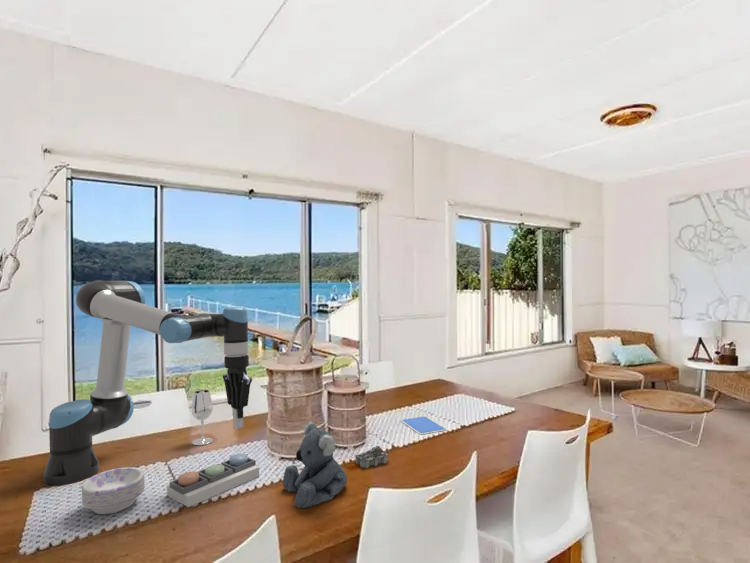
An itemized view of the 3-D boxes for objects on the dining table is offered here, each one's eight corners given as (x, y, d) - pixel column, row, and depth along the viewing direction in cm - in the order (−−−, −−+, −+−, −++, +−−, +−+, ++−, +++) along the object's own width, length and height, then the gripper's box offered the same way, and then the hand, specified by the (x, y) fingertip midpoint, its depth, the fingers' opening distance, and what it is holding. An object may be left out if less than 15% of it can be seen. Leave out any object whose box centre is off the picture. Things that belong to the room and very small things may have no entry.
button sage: (211, 480, 131) (211, 474, 131) (201, 475, 134) (201, 469, 134) (228, 473, 135) (227, 467, 135) (217, 468, 139) (217, 463, 139)
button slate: (236, 467, 138) (236, 461, 138) (226, 463, 141) (225, 457, 141) (251, 461, 142) (251, 456, 142) (240, 457, 146) (240, 452, 146)
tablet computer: (447, 432, 180) (447, 428, 180) (420, 436, 175) (420, 433, 175) (425, 418, 198) (425, 415, 198) (400, 422, 193) (400, 419, 193)
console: (187, 507, 122) (186, 491, 122) (166, 495, 129) (165, 480, 129) (259, 475, 141) (259, 462, 141) (238, 466, 148) (237, 453, 148)
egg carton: (380, 456, 156) (380, 444, 156) (390, 463, 149) (390, 451, 149) (353, 461, 151) (353, 450, 151) (362, 470, 144) (361, 457, 144)
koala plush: (280, 487, 133) (278, 423, 133) (334, 473, 142) (332, 413, 142) (299, 513, 118) (297, 440, 118) (358, 496, 126) (357, 428, 126)
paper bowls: (99, 526, 113) (99, 495, 113) (71, 511, 121) (71, 482, 121) (155, 500, 126) (155, 473, 126) (127, 488, 134) (126, 462, 134)
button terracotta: (184, 488, 124) (184, 481, 124) (174, 482, 128) (174, 476, 128) (202, 480, 129) (202, 474, 129) (192, 476, 132) (192, 470, 132)
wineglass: (208, 445, 169) (207, 393, 169) (188, 445, 169) (187, 394, 169) (216, 438, 176) (215, 388, 176) (197, 438, 177) (196, 389, 177)
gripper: (258, 354, 141) (260, 428, 141) (234, 351, 149) (236, 421, 149) (238, 358, 135) (240, 434, 135) (214, 355, 143) (216, 427, 143)
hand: (238, 427), depth 142 cm, fingers closed
